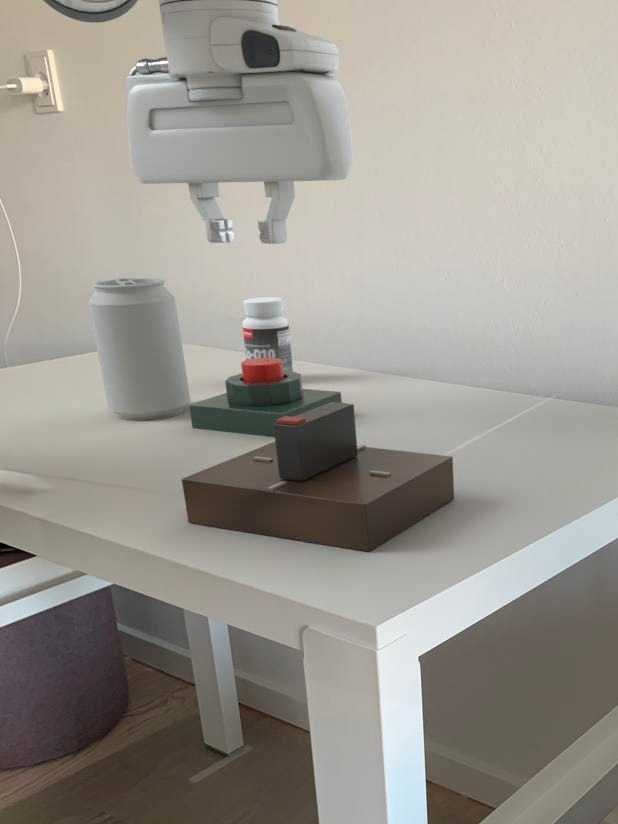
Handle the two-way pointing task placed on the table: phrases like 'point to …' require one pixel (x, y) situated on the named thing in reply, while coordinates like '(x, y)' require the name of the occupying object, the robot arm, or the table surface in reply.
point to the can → (139, 348)
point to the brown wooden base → (322, 496)
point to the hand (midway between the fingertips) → (247, 243)
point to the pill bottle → (267, 330)
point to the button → (262, 370)
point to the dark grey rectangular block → (315, 440)
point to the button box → (257, 405)
